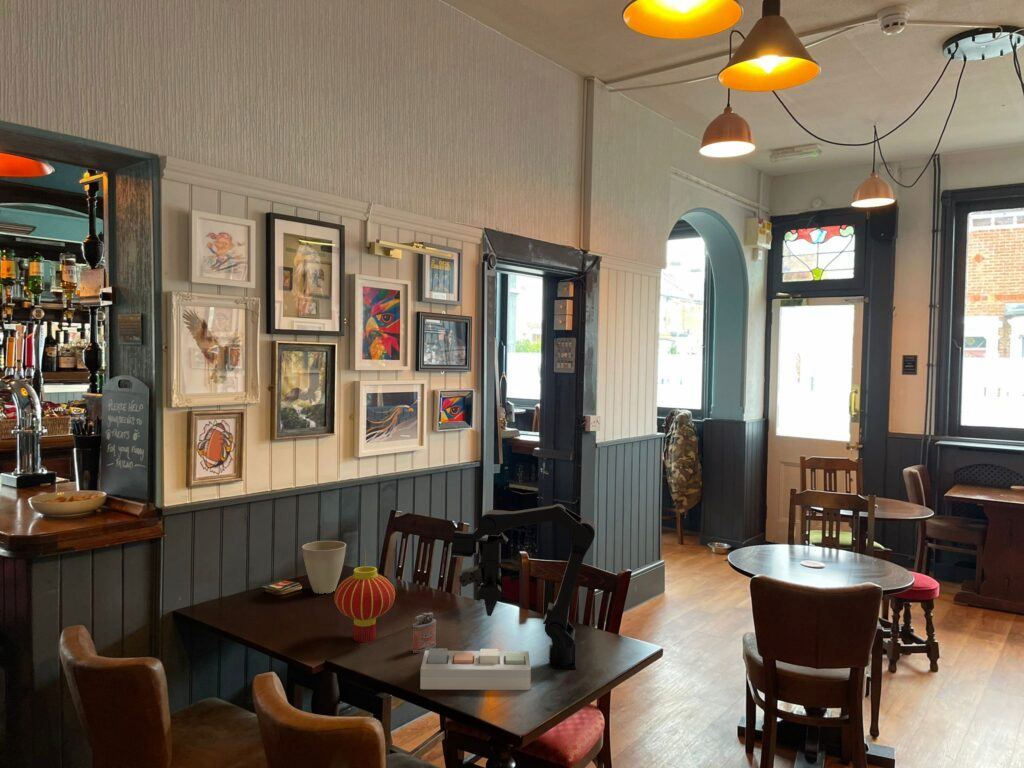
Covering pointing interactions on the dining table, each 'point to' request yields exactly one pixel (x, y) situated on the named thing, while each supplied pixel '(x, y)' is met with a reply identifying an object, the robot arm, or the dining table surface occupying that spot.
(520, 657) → the key sage
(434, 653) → the key slate
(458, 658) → the key terracotta
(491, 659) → the key cream
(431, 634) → the lighter
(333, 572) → the plant pot
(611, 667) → the dining table surface
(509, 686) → the keypad
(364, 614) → the lantern
